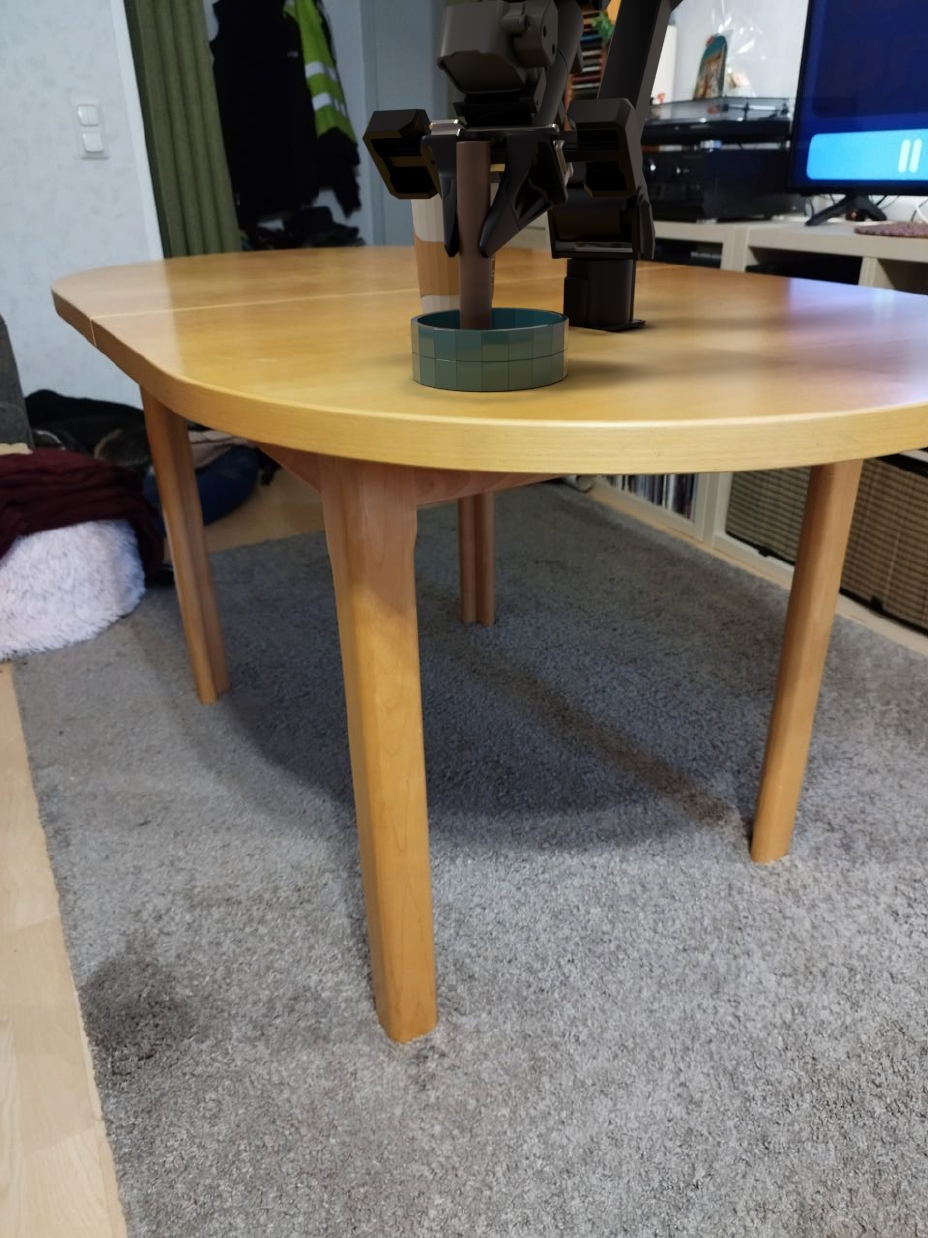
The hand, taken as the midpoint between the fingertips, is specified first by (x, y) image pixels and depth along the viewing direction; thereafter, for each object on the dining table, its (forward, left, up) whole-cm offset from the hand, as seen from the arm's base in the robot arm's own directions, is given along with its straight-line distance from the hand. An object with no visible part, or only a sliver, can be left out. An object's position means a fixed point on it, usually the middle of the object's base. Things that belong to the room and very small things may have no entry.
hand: (465, 253), depth 59 cm
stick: (-1, -1, -8) cm, 8 cm away
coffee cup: (-15, -20, -9) cm, 27 cm away
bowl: (-3, -1, -9) cm, 9 cm away
